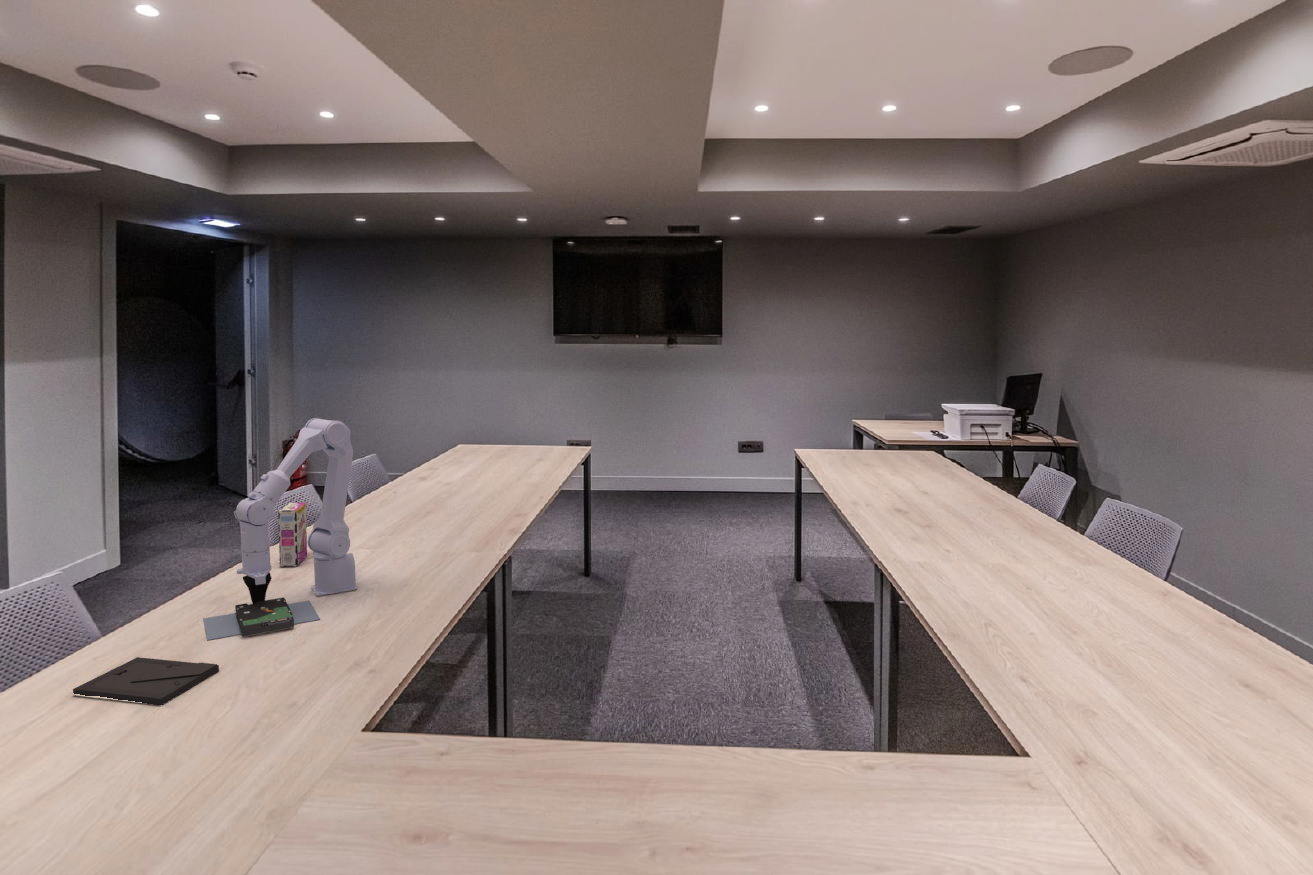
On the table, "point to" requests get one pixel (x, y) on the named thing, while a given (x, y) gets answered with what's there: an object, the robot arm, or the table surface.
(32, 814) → the table surface
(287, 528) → the candy bar box
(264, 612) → the disk drive
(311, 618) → the mat
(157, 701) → the picture frame
